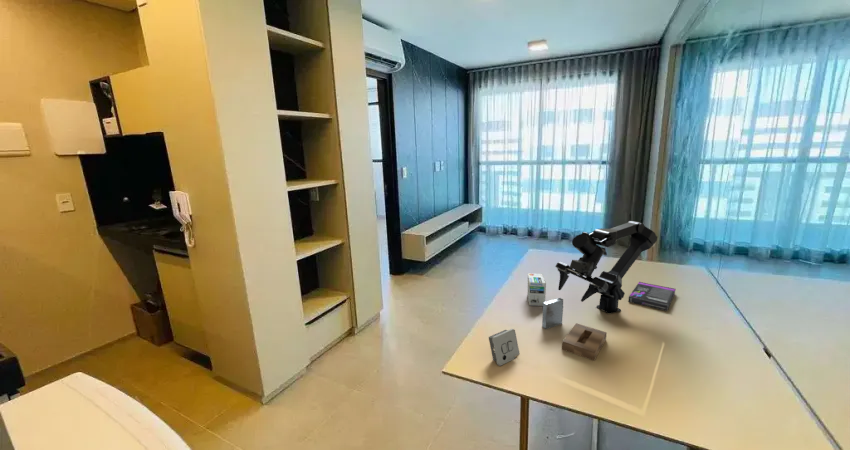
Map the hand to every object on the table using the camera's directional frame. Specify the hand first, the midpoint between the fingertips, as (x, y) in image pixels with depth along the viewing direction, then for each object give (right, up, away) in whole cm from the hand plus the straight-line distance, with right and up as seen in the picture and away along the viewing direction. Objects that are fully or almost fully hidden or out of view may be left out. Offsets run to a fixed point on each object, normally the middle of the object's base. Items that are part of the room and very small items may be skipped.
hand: (570, 295), depth 125 cm
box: (+44, -6, +19) cm, 48 cm away
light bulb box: (-5, -7, +22) cm, 24 cm away
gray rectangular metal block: (-7, -12, 0) cm, 14 cm away
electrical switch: (-29, -17, -15) cm, 37 cm away
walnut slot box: (0, -15, -12) cm, 19 cm away
